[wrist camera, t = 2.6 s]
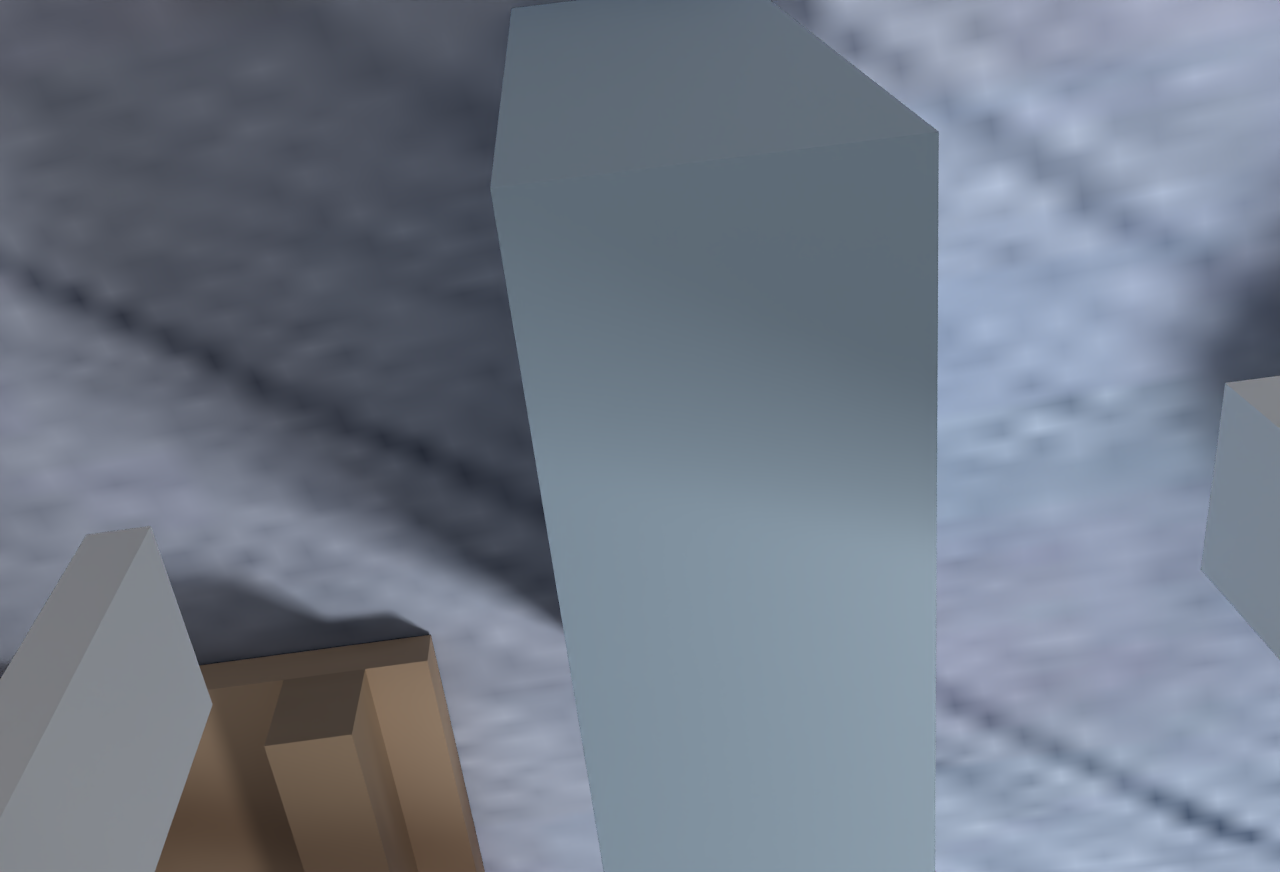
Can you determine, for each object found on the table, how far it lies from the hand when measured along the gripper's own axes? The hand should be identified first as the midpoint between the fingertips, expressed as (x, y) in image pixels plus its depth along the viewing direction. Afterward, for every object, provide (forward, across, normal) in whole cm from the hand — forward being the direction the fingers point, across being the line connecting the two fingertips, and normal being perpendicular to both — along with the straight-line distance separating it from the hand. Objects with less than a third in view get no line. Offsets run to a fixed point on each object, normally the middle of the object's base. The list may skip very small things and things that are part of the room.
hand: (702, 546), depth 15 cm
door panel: (+7, 0, 0) cm, 7 cm away
